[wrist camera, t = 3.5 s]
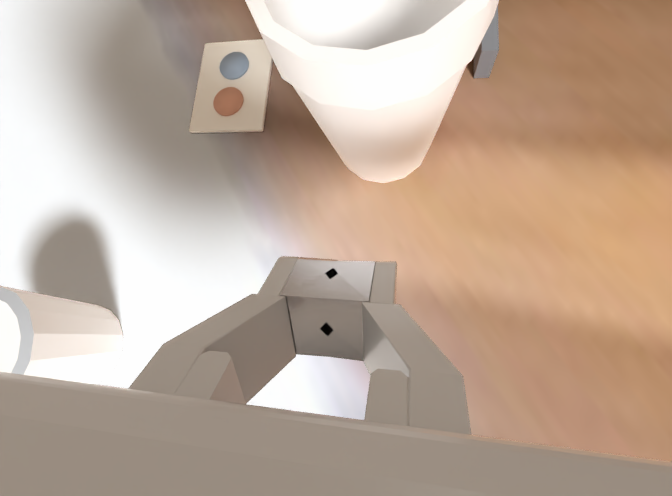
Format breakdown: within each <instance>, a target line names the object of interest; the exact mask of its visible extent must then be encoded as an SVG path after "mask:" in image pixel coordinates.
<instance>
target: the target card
mask: <svg viewBox="0 0 672 496" xmlns="http://www.w3.org/2000/svg"><path fill="white" fill-rule="evenodd" d="M272 63H273V59H272V57H271V55H270V52H269V50H268V48H267V46H266V44H265V42H264V40H263V39H258V40H244V41H231V42H217V43H205V47H204V52H203V57H202V63H201V68H200V73H199V79H198V84H197V89H196V95H195V100H194V105H193V111H192V116H191V121H190V127H189V132H190V133H215V132H262V131H263V128H264V121H265V114H266V106H267V99H268V92H269V85H270V77H271V70H272Z"/></svg>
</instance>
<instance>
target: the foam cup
mask: <svg viewBox="0 0 672 496" xmlns="http://www.w3.org/2000/svg"><path fill="white" fill-rule="evenodd" d="M245 1H246V3H247V6H248V8H249V10H250V12H251V14H252V16H253V18H254V21H255V23H256V25H257V27H258V29H259V31H260V33H261V36H262V38H263V40H264V42H265V44H266V46H267V48H268V50H269V52H270V55H271V57H272V59H273V61H274V63H275V65H276V67H277V69H278V71H279V73H280V75H281V78H282V79H284V80H285V81H287V82H288V83H290V84H291V85H292V86H293V87H294V89H295V90H296V92H297V93H298V95H299V96H300V98H301V99H302V101H303V102H304V104H305V105H306V107H307V108H308V110H309V111H310V113H311V114H312V116H313V117H314V119H315V120H316V122H317V123H318V125H319V126H320V128H321V129H322V131H323V132H324V134H325V135H326V137H327V138H328V140H329V141H330V143H331V144H332V146H333V147H334V149H335V150H336V152H337V154H338V155H339V157H340V158H341V160H342V161H343V163H344V164H345V165H346V166H347V168H348V169H349V170H350V171H352V172H353V173H355V174H356V175H357V176H359V177H360V178H362V179H363V180H368V181H373V182H379V183H387V182H391V181H395V180H399V179H403V178H405V177H406V176H407V175H409V174H410V173H411V172H413V171H414V170H415V169H416V168H418V167H419V166H420V165H421V163H422V161H423V159H424V157H425V155H426V153H427V151H428V149H429V147H430V145H431V143H432V141H433V139H434V137H435V134H436V132H437V130H438V128H439V126H440V123H441V121H442V119H443V117H444V114H445V112H446V110H447V108H448V105H449V103H450V101H451V99H452V97H453V94H454V92H455V90H456V88H457V85H458V83H459V81H460V79H461V76H462V74H463V72H464V70H465V67H466V65H467V64H468V63H469V62H471V61H472V59H473V57H474V55H475V53H476V51H477V49H478V47H479V45H480V43H481V41H482V39H483V37H484V35H485V33H486V31H487V29H488V27H489V25H490V23H491V21H492V19H493V17H494V15H495V12H496V8H497V5H498V2H499V0H245Z"/></svg>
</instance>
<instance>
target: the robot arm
mask: <svg viewBox="0 0 672 496" xmlns="http://www.w3.org/2000/svg"><path fill="white" fill-rule="evenodd" d="M396 280H397V263H396V262H394V261H376V262H375V261H341V260H332V259H318V258H304V257H300V258H299V257H285V256H282V257H280V258H278V260H277V261H276V263H275V265H274V267H273V268H272V270H271V272H270V274H269V275H268V277H267V279H266V280H265V282H264V284H263V286H262V287H261V289H260V291H259V293H258V294H251V295H249V296H247V297H246V298H244V299H242V300H240V301H239V302H237V303H235V304H233V305H232V306H230V307H228V308H226V309H224V310H223V311H221V312H219V313H217V314H216V315H214V316H212V317H210V318H208V319H207V320H205V321H203V322H201V323H200V324H198V325H196V326H194V327H193V328H191V329H189V330H187V331H185V332H184V333H182V334H180V335H178V336H177V337H175V338H173V339H171V340H170V341H168V342H166V343H164V344H163V345H162V346H161V348H160V349H159V350H158V351H157V353H156V354H155V355H154V357H153V358H152V359H151V360H150V362H149V363H148V364H147V366H146V367H145V368H144V369H143V371H142V372H141V373H140V374H139V376H138V377H137V378H136V380H135V381H134V382H133V383H132V385H131V386H130V387H129V388H128V389H127V388H119V387H112V386H104V385H97V384H89V383H82V382H74V381H67V380H59V379H52V378H44V377H37V376H29V375H22V374H14V373H7V372H0V496H672V461H665V460H657V459H650V458H642V457H635V456H627V455H620V454H612V453H605V452H597V451H590V450H582V449H575V448H567V447H560V446H552V445H545V444H538V443H530V442H523V441H515V440H508V439H500V438H493V437H485V436H478V435H471V428H470V421H469V414H468V407H467V400H466V393H465V386H464V379H463V375H462V374H461V373H460V372H459V371H458V370H457V369H456V367H455V366H454V365H453V364H452V363H451V362H450V361H449V359H448V358H447V357H446V356H445V355H444V354H443V353H442V351H441V350H440V349H439V348H438V347H437V346H436V345H435V343H434V342H433V341H432V340H431V339H430V338H429V336H428V335H427V334H426V333H425V332H424V331H423V330H422V328H421V327H420V326H419V325H418V324H417V323H416V322H415V320H414V319H413V318H412V317H411V316H410V315H409V314H408V312H407V311H406V310H405V309H404V308H403V307H402V306H401V305H400V304H396ZM296 354H300V355H314V356H328V357H336V358H344V359H352V360H359V361H364V364H365V366H366V368H367V370H368V372H369V374H370V376H371V377H370V384H369V391H368V398H367V405H366V412H365V420H358V419H351V418H343V417H336V416H329V415H321V414H314V413H306V412H299V411H291V410H284V409H276V408H269V407H261V406H254V405H246V403H247V402H248V401H249V400H250V399H251V398H253V397H254V396H255V395H256V394H257V393H258V392H259V391H260V390H261V389H262V388H263V387H264V386H265V385H266V384H267V383H268V382H269V381H270V380H271V379H272V378H274V377H275V376H276V375H277V374H278V373H279V372H280V371H281V370H282V369H283V368H284V367H285V366H286V365H287V364H288V363H289V362H290V361H291V360H292V359H293V358H295V357H296Z"/></svg>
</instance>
